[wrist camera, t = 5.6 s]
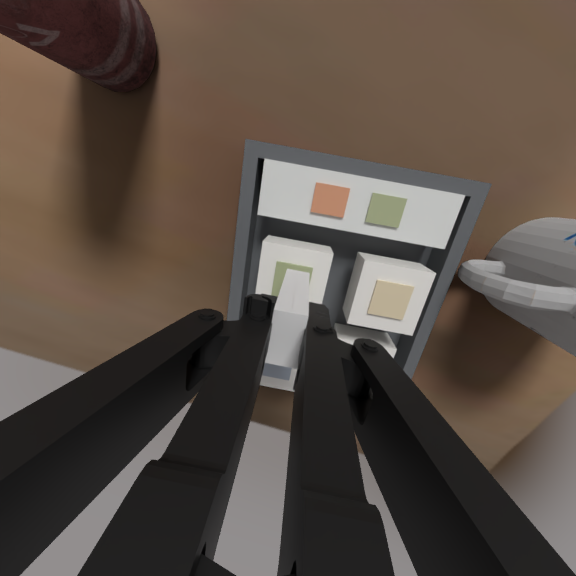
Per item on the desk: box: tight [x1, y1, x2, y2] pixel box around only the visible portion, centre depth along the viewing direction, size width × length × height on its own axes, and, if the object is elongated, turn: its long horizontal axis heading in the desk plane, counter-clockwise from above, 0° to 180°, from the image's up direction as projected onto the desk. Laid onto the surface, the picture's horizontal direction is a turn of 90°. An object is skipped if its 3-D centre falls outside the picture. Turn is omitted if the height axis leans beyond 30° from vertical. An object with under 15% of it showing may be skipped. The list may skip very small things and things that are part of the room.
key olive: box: [255, 235, 334, 304], centre depth 20 cm, size 5×5×3 cm
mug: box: [458, 217, 576, 357], centre depth 18 cm, size 12×9×10 cm
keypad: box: [227, 139, 491, 379], centre depth 23 cm, size 17×20×3 cm
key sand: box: [343, 252, 436, 336], centre depth 20 cm, size 5×5×3 cm
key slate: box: [260, 363, 298, 392], centre depth 23 cm, size 5×5×3 cm
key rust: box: [334, 323, 397, 359], centre depth 24 cm, size 5×5×3 cm
